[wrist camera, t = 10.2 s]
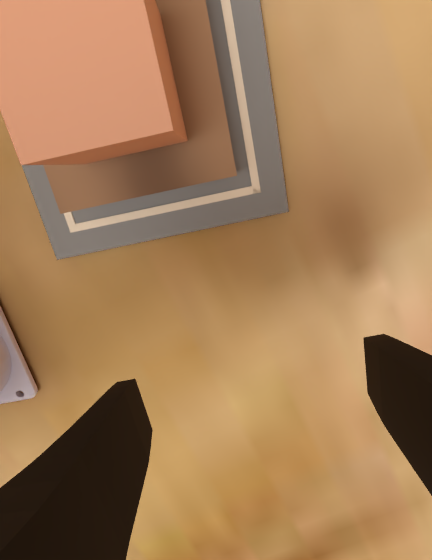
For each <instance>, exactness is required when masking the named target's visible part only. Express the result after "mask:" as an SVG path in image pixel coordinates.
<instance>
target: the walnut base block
mask: <svg viewBox="0 0 432 560" xmlns="http://www.w3.org/2000/svg"><path fill="white" fill-rule="evenodd" d="M155 2H156V4H157V7H158V9H159V12H160V15H161V20H162V24H163V29H164V34H165V38H166V43H167V47H168V52H169V57H170V61H171V66H172V70H173V75H174V80H175V84H176V89H177V93H178V98H179V103H180V107H181V112H182V116H183V121H184V126H185V130H186V135H187V139H188V141H186V142H182V143H177V144H173V145H169V146H164V147H160V148H155V149H151V150H146V151H142V152H137V153H133V154H129V155H124V156H120V157H115V158H111V159H106V160H102V161H97V162H93V163H89V164H72V165H43V166H44V169H45V172H46V174H47V177H48V180H49V183H50V186H51V189H52V191H53V194H54V197H55V200H56V203H57V206H58V208H59V211H60V214H63V213H67V212H72V211H76V210H81V209H86V208H90V207H95V206H99V205H104V204H109V203H113V202H118V201H122V200H127V199H132V198H136V197H141V196H146V195H150V194H155V193H159V192H164V191H169V190H173V189H178V188H182V187H187V186H192V185H196V184H201V183H205V182H210V181H215V180H219V179H224V178H228V177H233V176H237V172H236V167H235V161H234V156H233V150H232V145H231V139H230V134H229V128H228V122H227V117H226V111H225V106H224V100H223V95H222V89H221V84H220V78H219V72H218V67H217V61H216V56H215V50H214V45H213V39H212V34H211V28H210V23H209V17H208V11H207V6H206V0H155Z"/></svg>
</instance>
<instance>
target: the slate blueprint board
mask: <svg viewBox="0 0 432 560" xmlns="http://www.w3.org/2000/svg"><path fill="white" fill-rule="evenodd" d="M206 6H207V11H208V17H209V23H210V28H211V34H212V39H213V45H214V50H215V56H216V61H217V67H218V72H219V78H220V84H221V89H222V95H223V100H224V106H225V111H226V117H227V122H228V128H229V134H230V139H231V145H232V150H233V156H234V161H235V167H236V172H237V176H233V177H228V178H224V179H219V180H215V181H210V182H205V183H201V184H196V185H192V186H187V187H182V188H178V189H173V190H169V191H164V192H159V193H155V194H150V195H146V196H141V197H136V198H132V199H127V200H122V201H118V202H113V203H109V204H104V205H99V206H95V207H90V208H86V209H81V210H76V211H72V212H67V213H63V214H60V211H59V208H58V206H57V203H56V200H55V197H54V194H53V191H52V189H51V186H50V183H49V180H48V177H47V174H46V172H45V169H44V166H43V165H22V167H23V170H24V173H25V175H26V178H27V181H28V183H29V186H30V189H31V192H32V194H33V197H34V200H35V202H36V205H37V208H38V210H39V213H40V216H41V218H42V221H43V224H44V226H45V229H46V232H47V234H48V237H49V240H50V242H51V245H52V248H53V250H54V253H55V256H56V258H57V260H59V259H63V258H68V257H73V256H78V255H83V254H87V253H92V252H97V251H102V250H107V249H112V248H116V247H121V246H126V245H131V244H136V243H140V242H145V241H150V240H155V239H160V238H165V237H169V236H174V235H179V234H184V233H189V232H193V231H198V230H203V229H208V228H213V227H218V226H222V225H227V224H232V223H237V222H242V221H246V220H251V219H256V218H261V217H266V216H271V215H275V214H280V213H285V212H289V209H288V202H287V195H286V187H285V180H284V173H283V166H282V158H281V151H280V144H279V136H278V129H277V122H276V115H275V107H274V100H273V93H272V85H271V78H270V71H269V64H268V56H267V49H266V42H265V35H264V27H263V20H262V13H261V5H260V0H206Z"/></svg>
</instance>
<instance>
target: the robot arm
mask: <svg viewBox="0 0 432 560" xmlns="http://www.w3.org/2000/svg"><path fill="white" fill-rule="evenodd" d="M364 351H365V364H366V377H367V390H368V395H369V397H370V399H371V401H372V403H373V405H374V407H375V409H376V411H377V413H378V415H379V417H380V418H381V420H382V422H383V424H384V426H385V427H386V429H387V430H388V432H389V433H390V435H391V436H392V438H393V439H394V441H395V442H396V444H397V445H398V447H399V448H400V450H401V451H402V452H403V454H404V455H405V457H406V458H407V460H408V461H409V463H410V464H411V466H412V467H413V469H414V470H415V472H416V473H417V475H418V476H419V478H420V479H421V480H422V482H423V483H424V485H425V486H426V488H427V489H428V491H429V492H430V494H431V495H432V355H430V354H427V353H425V352H423V351H421V350H419V349H417V348H415V347H412V346H410V345H408V344H406V343H404V342H402V341H399V340H397V339H395V338H393V337H390V336H388V335H385V334H381V335H376V336H370V337H364ZM20 391H22V392H23V393H21V392H20ZM37 392H38V389H37V386H36V384H35V382H34V379H33V377H32V375H31V373H30V370H29V368H28V366H27V364H26V362H25V359H24V357H23V355H22V353H21V351H20V348H19V346H18V344H17V342H16V339H15V337H14V335H13V333H12V331H11V328H10V326H9V324H8V322H7V320H6V317H5V315H4V313H3V311H2V308H1V306H0V404H3V403H9V402H14V401H20V400H25V399H31V398H33V397H34V396H35V395H36V394H37ZM151 439H152V427H151V424H150V421H149V418H148V415H147V412H146V409H145V406H144V403H143V400H142V397H141V394H140V391H139V388H138V385H137V382H136V380H135V379H132V380H126V381H121V382H117V383H115V384H114V385H113V386H112V387H111V388H110V389H109V390H108V391H107V392H106V393H105V394H104V395H103V396H102V397H101V398H100V399H99V400H98V401H97V402H96V403H95V404H94V405H93V406H92V407H91V408H90V409H89V410H88V411H87V412H86V413H85V414H84V415H83V416H82V417H80V418H79V419H78V420H77V421H76V422H75V423H74V424H73V425H72V426H71V427H70V428H69V429H68V430H67V431H66V432H65V433H64V434H63V435H62V436H61V437H60V438H59V439H57V440H56V441H55V442H54V443H53V444H52V445H51V446H50V447H49V448H48V449H47V450H46V451H44V452H43V453H42V454H41V455H40V456H39V457H38V458H37V459H35V460H34V461H33V462H32V463H31V464H29V465H28V466H27V467H26V468H25V469H23V470H22V471H21V472H20V473H18V474H17V475H16V476H15V477H13V478H12V479H11V480H10V481H8V482H7V483H6V484H5V485H3V486H2V487H1V488H0V560H126V556H127V551H128V546H129V541H130V537H131V533H132V529H133V525H134V521H135V517H136V513H137V508H138V504H139V500H140V496H141V492H142V488H143V484H144V480H145V476H146V472H147V467H148V463H149V456H150V448H151Z"/></svg>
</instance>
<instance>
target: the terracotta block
mask: <svg viewBox="0 0 432 560" xmlns="http://www.w3.org/2000/svg"><path fill="white" fill-rule="evenodd" d="M0 111H1V113H2V116H3V119H4V121H5V124H6V127H7V129H8V132H9V135H10V137H11V140H12V143H13V145H14V148H15V151H16V153H17V156H18V159H19V161H20V164H21V165H72V164H89V163H93V162H97V161H102V160H106V159H111V158H115V157H120V156H124V155H129V154H133V153H137V152H142V151H146V150H151V149H155V148H160V147H164V146H169V145H173V144H177V143H182V142H186V141H188V139H187V135H186V130H185V126H184V121H183V116H182V112H181V107H180V103H179V98H178V93H177V89H176V84H175V80H174V75H173V70H172V66H171V61H170V57H169V52H168V47H167V43H166V38H165V34H164V29H163V24H162V20H161V15H160V12H159V9H158V7H157V4H156V2H155V0H0Z"/></svg>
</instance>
